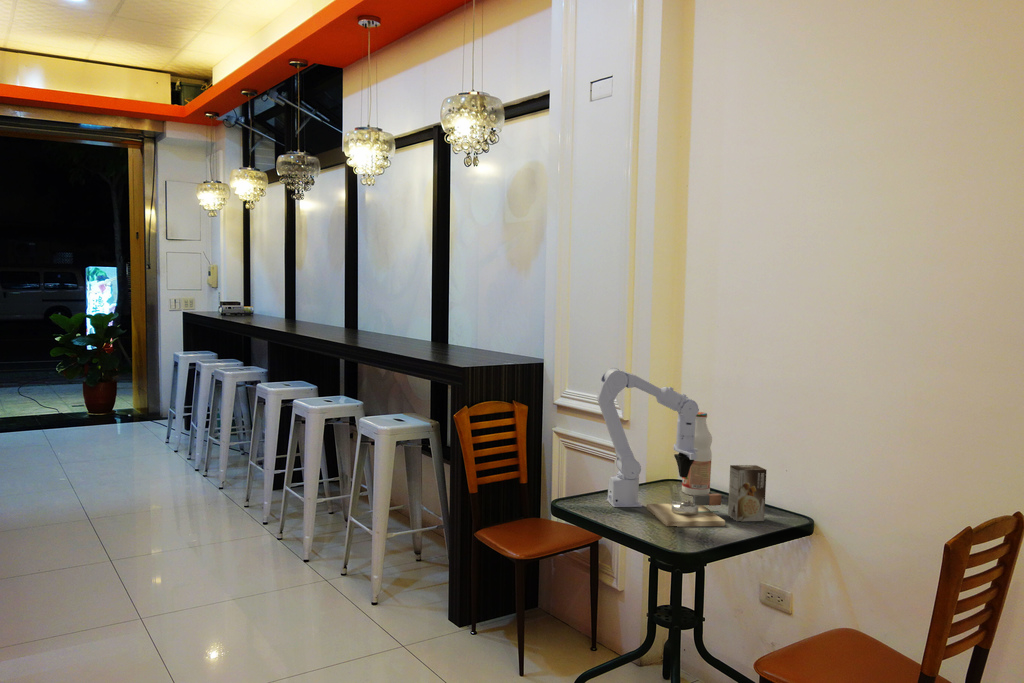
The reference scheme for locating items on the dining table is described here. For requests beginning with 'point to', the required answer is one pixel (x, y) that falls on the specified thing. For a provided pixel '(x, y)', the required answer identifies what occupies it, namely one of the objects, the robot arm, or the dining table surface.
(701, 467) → the fruit juice
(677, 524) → the nut base
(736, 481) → the biscuit box
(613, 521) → the dining table surface
